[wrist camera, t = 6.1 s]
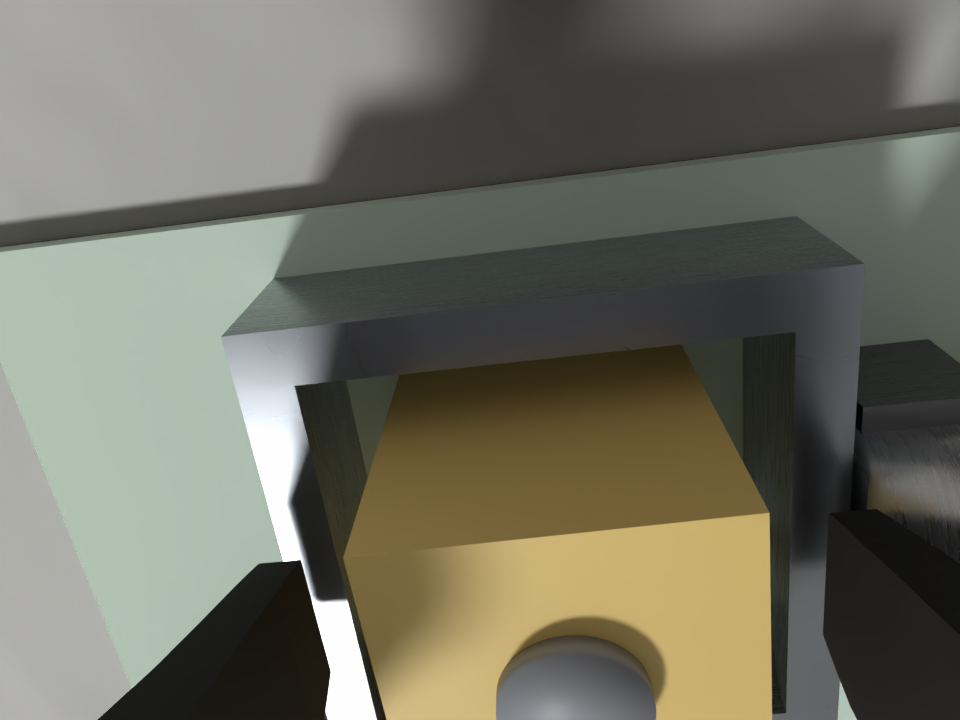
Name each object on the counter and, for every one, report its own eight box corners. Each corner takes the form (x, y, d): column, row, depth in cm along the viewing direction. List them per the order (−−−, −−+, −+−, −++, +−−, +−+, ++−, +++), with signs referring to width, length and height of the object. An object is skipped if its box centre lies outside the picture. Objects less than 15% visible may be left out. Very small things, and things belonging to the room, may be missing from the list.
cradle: (787, 210, 12) (864, 263, 10) (780, 620, 15) (836, 746, 13) (280, 270, 13) (220, 336, 10) (371, 652, 16) (344, 778, 13)
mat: (1440, 65, 11) (1472, 67, 11) (1192, 836, 17) (1207, 854, 17) (-27, 250, 13) (-43, 257, 13) (224, 888, 19) (218, 906, 19)
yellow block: (690, 561, 14) (780, 836, 10) (446, 586, 15) (416, 862, 10) (675, 334, 13) (777, 530, 8) (401, 369, 13) (337, 576, 8)
